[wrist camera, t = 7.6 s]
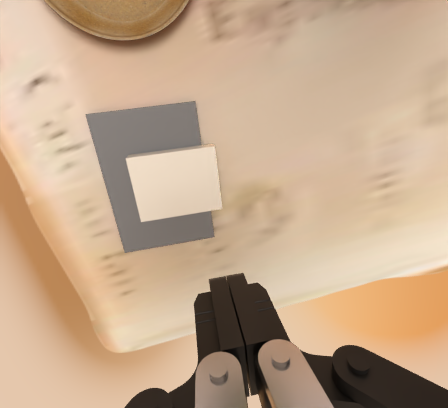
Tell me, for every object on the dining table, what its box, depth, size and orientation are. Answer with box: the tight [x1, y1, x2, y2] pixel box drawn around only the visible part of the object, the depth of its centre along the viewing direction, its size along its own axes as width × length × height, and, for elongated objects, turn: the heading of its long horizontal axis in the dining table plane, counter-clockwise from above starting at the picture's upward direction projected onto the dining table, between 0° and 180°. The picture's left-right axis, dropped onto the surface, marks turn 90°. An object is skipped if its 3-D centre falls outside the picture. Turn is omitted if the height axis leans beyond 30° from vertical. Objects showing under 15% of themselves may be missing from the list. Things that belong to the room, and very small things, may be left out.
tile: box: [126, 144, 223, 222], centre depth 29 cm, size 7×2×9 cm
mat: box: [86, 101, 214, 253], centre depth 30 cm, size 16×11×1 cm
